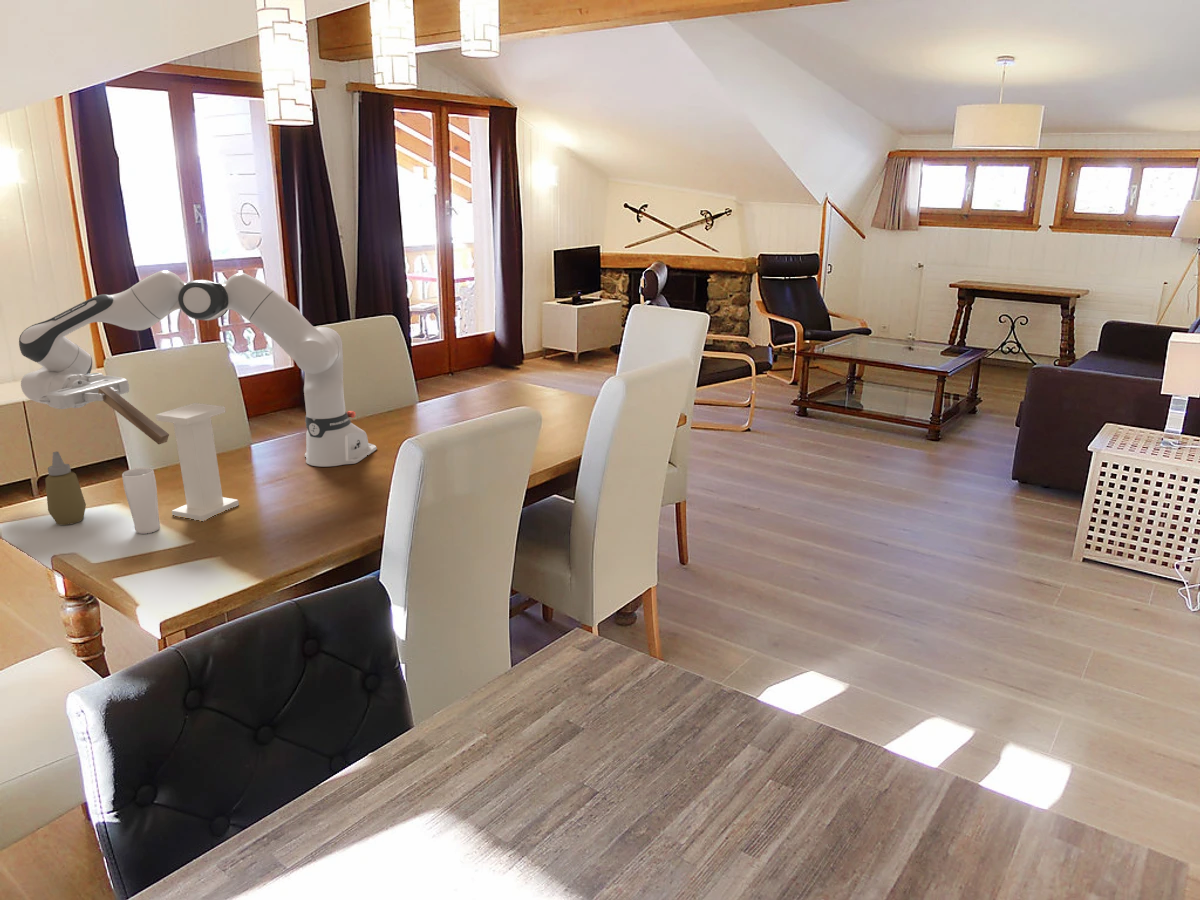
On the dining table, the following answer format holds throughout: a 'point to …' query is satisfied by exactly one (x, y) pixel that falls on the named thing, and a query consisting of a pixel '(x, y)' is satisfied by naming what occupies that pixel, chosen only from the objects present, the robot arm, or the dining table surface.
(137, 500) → the drinking glass
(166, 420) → the shelf stand
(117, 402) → the walnut bar
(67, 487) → the squeeze bottle
